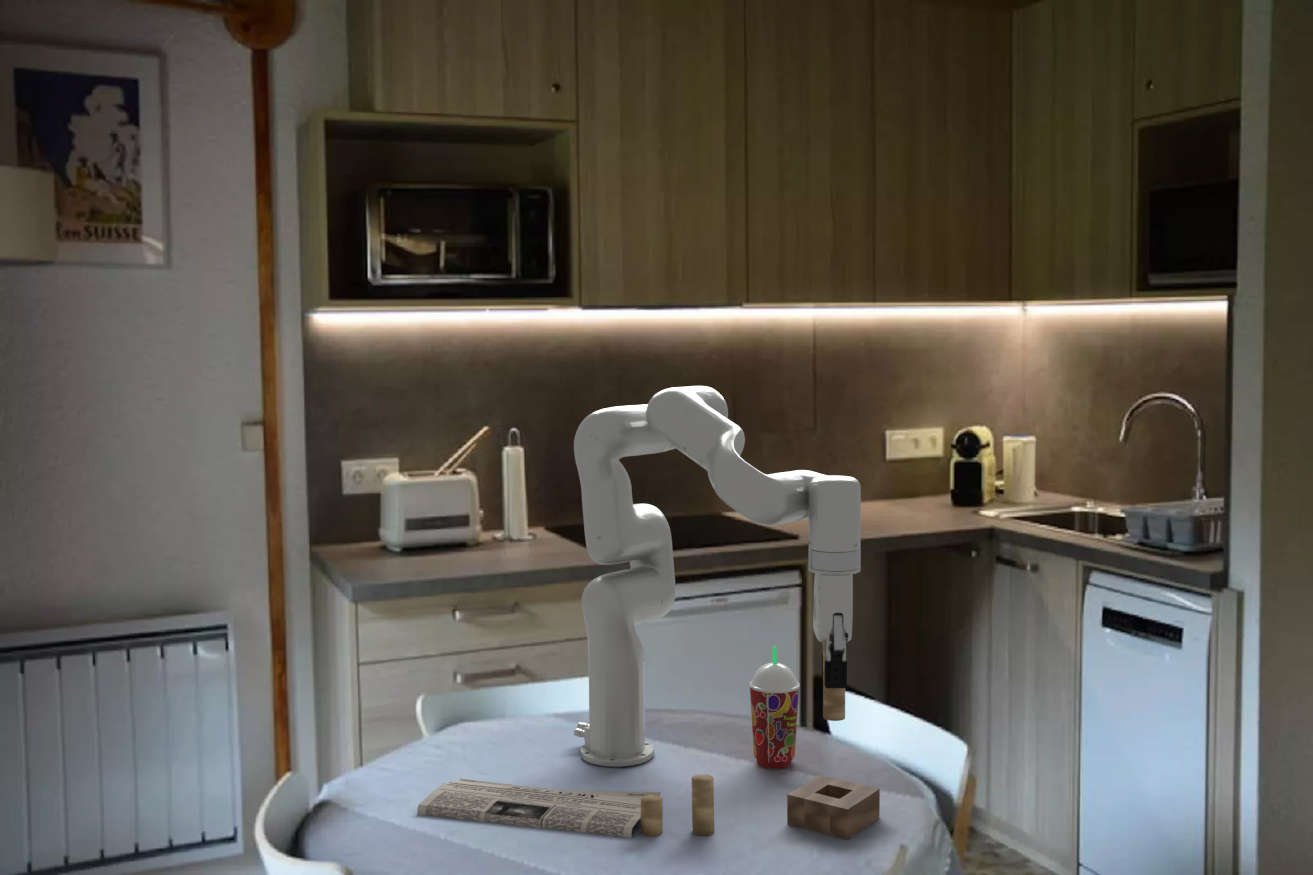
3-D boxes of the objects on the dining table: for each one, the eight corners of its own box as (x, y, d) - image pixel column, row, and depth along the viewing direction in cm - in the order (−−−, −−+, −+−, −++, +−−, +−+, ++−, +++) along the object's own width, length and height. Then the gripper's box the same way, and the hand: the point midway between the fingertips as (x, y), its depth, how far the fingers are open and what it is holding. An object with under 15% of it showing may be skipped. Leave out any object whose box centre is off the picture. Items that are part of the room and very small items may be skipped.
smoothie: (796, 774, 213) (797, 654, 211) (746, 770, 215) (746, 652, 213) (801, 757, 221) (802, 641, 219) (752, 754, 223) (752, 639, 221)
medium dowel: (688, 832, 189) (687, 779, 189) (700, 825, 192) (699, 772, 191) (706, 837, 188) (705, 783, 187) (718, 830, 190) (717, 776, 189)
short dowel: (636, 832, 189) (636, 799, 189) (650, 826, 192) (650, 793, 191) (652, 838, 187) (652, 804, 187) (667, 831, 190) (667, 798, 189)
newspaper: (417, 817, 197) (416, 795, 197) (452, 788, 209) (451, 767, 208) (640, 842, 187) (640, 818, 187) (663, 810, 199) (663, 788, 199)
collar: (787, 824, 192) (787, 794, 192) (820, 803, 200) (820, 775, 200) (847, 839, 186) (847, 809, 186) (879, 818, 194) (879, 788, 194)
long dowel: (819, 718, 191) (819, 624, 190) (829, 713, 194) (829, 620, 193) (838, 722, 189) (838, 627, 188) (849, 716, 192) (849, 623, 191)
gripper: (803, 550, 198) (803, 669, 200) (813, 571, 181) (813, 700, 183) (853, 550, 198) (853, 669, 199) (867, 571, 181) (867, 700, 183)
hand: (834, 682), depth 191 cm, fingers closed on long dowel, 3 cm apart
